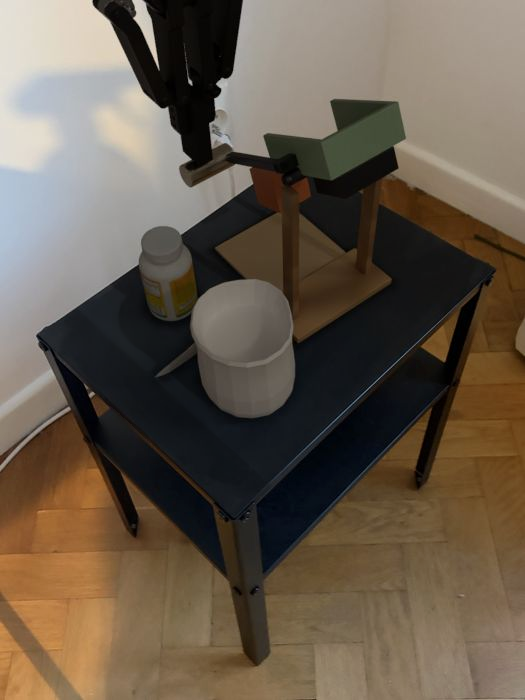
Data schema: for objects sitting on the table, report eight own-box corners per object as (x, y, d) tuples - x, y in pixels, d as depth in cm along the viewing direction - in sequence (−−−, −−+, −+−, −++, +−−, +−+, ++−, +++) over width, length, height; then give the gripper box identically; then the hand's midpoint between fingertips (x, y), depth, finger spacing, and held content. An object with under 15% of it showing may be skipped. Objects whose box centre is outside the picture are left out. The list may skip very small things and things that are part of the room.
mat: (346, 255, 82) (346, 253, 81) (268, 303, 78) (268, 300, 78) (290, 207, 87) (290, 204, 86) (214, 250, 83) (214, 247, 83)
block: (271, 177, 70) (280, 214, 73) (303, 160, 72) (311, 196, 74) (248, 168, 73) (258, 203, 76) (280, 152, 75) (288, 187, 77)
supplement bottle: (147, 324, 77) (130, 261, 69) (150, 285, 80) (134, 222, 72) (198, 321, 77) (187, 258, 69) (199, 283, 80) (188, 219, 72)
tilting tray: (193, 210, 69) (173, 157, 66) (321, 142, 74) (307, 90, 72) (281, 239, 57) (260, 175, 54) (426, 155, 62) (413, 93, 60)
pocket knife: (255, 308, 78) (254, 296, 76) (260, 313, 77) (260, 301, 76) (152, 380, 73) (149, 369, 71) (157, 385, 72) (154, 374, 71)
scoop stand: (262, 308, 78) (255, 179, 63) (354, 252, 82) (366, 119, 68) (298, 343, 75) (298, 216, 60) (391, 283, 79) (412, 151, 65)
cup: (253, 324, 76) (248, 260, 68) (319, 383, 72) (322, 321, 64) (181, 375, 73) (167, 314, 65) (245, 440, 68) (239, 383, 60)
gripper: (211, -181, 51) (231, 107, 70) (43, -127, 46) (114, 164, 66) (277, -146, 47) (279, 146, 66) (103, -84, 43) (159, 210, 62)
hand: (197, 155), depth 66 cm, fingers closed
